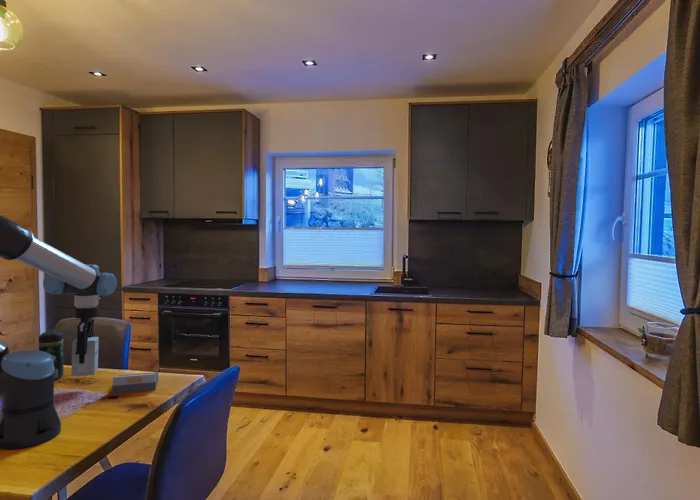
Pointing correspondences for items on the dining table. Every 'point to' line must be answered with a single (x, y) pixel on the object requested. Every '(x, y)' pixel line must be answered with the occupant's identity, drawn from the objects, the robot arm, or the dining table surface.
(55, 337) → the coffee jar
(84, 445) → the dining table surface
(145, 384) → the grey display stand
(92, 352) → the supplement box
